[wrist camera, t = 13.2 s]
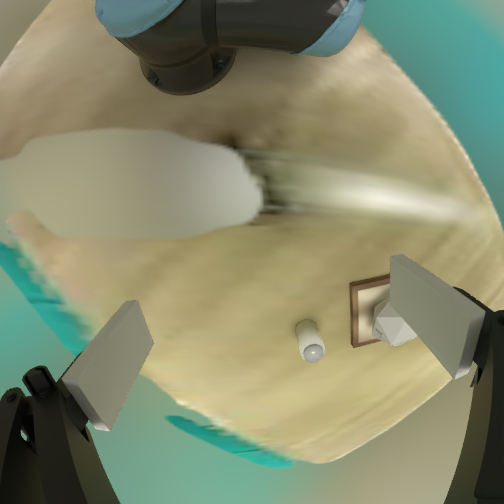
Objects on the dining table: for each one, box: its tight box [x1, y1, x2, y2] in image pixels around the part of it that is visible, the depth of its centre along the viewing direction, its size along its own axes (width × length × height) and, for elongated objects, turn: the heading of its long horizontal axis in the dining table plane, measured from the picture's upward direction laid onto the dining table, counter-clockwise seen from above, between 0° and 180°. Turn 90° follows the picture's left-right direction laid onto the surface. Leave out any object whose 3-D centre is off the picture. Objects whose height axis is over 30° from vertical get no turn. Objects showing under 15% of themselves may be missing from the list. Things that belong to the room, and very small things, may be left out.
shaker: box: [295, 320, 325, 363], centre depth 45 cm, size 4×4×8 cm
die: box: [372, 297, 418, 347], centre depth 42 cm, size 8×9×10 cm
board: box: [350, 275, 390, 348], centre depth 47 cm, size 13×13×2 cm
